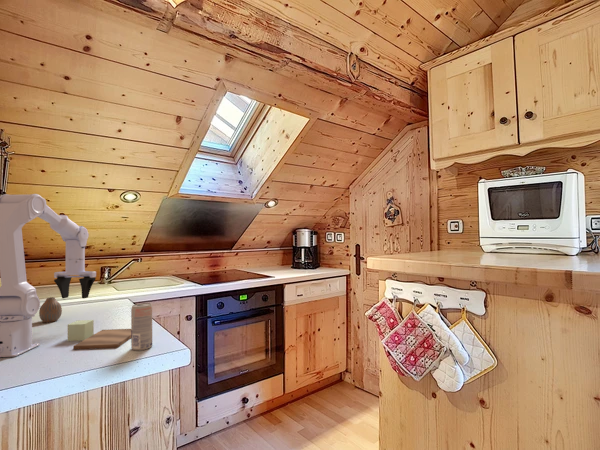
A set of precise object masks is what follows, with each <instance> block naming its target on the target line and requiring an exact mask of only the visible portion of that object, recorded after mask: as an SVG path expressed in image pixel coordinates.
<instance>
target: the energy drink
mask: <svg viewBox="0 0 600 450" xmlns="http://www.w3.org/2000/svg"><path fill="white" fill-rule="evenodd" d="M130 309H131V311H130V312H131V315H130V317H131V318H130V319H131V320H130V321H131V323H130V325H131V327H130V329H131V341H130V342H131V347H130V348H131V350H132V351H134V350H135V352H140V351H139V350H141V351H146V350H149V349H151V348H152V347H153V306H152V303H150V302H149V303H148V302H143V303H136V304H132V305H131V308H130ZM150 347H151V348H150ZM148 348H149V349H148ZM145 349H146V350H145Z"/></svg>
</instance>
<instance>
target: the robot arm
mask: <svg viewBox="0 0 600 450" xmlns="http://www.w3.org/2000/svg"><path fill="white" fill-rule="evenodd" d="M36 218H39V219H41V220H42V221H44V222H46V223H48V224H49V228H50V229H51V230H53V231H55V233H57V234H58V235H60V237H61V240H62V241H63V242H65V271H56V272H53V278H55V279H54V280H53V281H54V283H55V284H56V286H57V288H58V290H59V293H60V296H61V299H66V298H69V293H70V284H71V280H72V278H79V279H78V280H79V283H80V289H81V297H82V298H81V299H87V298H89V295H90V293H91V292H90V291H91V288H92V286H93V284H94V283H95V281H96V279H97V271H90V270H89V271H88V270H86V268H85V267H86V264H85V263H86V261H85V258H86V257H85V256H86V247H87V242H88V239H89V235H90V234H89V232H88V231H89V230H88V229H87V228H86V227H85V226H83V225H78V224H77V223H76V222H74V221H73V220H71V219H70V218H69V216H68V215H67V214H58V213H56V212H55V211H54V209H52V208H51V207H49V205H47V200H46V198H44V197H42V196H41V195H40V194H38V193H31V194H27V193H25V194H7V193H5V194H1V195H0V285H1V286H0V358H9V357H11V358H12V357H13V358H14V357H17V356H19V355H21V354H24V353H26V352H28V351H30V350H32V349H34V348H36V347H37V348H38V346H40V345H41V344H40V343H39V342H38V343H33V318H34V317H35V316H36V314H38V312H39V310H40V307H41V301H40V298H39V296H38V294H37V288H36V287H34V286H33V285H32V284H30V283H29V282H28V279H27V270H26V261H25V248H24V240H23V230H22V229H23V227H24V226H25V225H26V224H27V223H29V222H31V221H33V220H34V219H36Z"/></svg>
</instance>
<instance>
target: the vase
mask: <svg viewBox="0 0 600 450" xmlns="http://www.w3.org/2000/svg"><path fill="white" fill-rule="evenodd" d="M62 311H63V309H62V305H61V303H60V302H59V301H58V300H57V299H56V297H51V296H50V297H46V299H45V301H44V302H43V303H42V304H41V305H40V307H39V310H38V314H39V315H38V316H39V319H40V321H42V322H43V323H53V322H57V321H58V320H59V319H60V318H61V316H62V313H63V312H62Z"/></svg>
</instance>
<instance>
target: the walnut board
mask: <svg viewBox="0 0 600 450" xmlns="http://www.w3.org/2000/svg"><path fill="white" fill-rule="evenodd" d="M130 339H131V328H116V329H113V328H111V329H101V330H100V331H97V332H96V333H94V335H92V336H90V337H88V338H87V339H85V340H82V341H80V342H79V341H78V343H76V344H74V345H73V348H72V349H73V350H92V349H95V348H97V349H116V348H117V349H118V348H120V347H121V346H122V345H123V344H125V343H127V342H128V341H129V340H130ZM95 350H96V349H95Z"/></svg>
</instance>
